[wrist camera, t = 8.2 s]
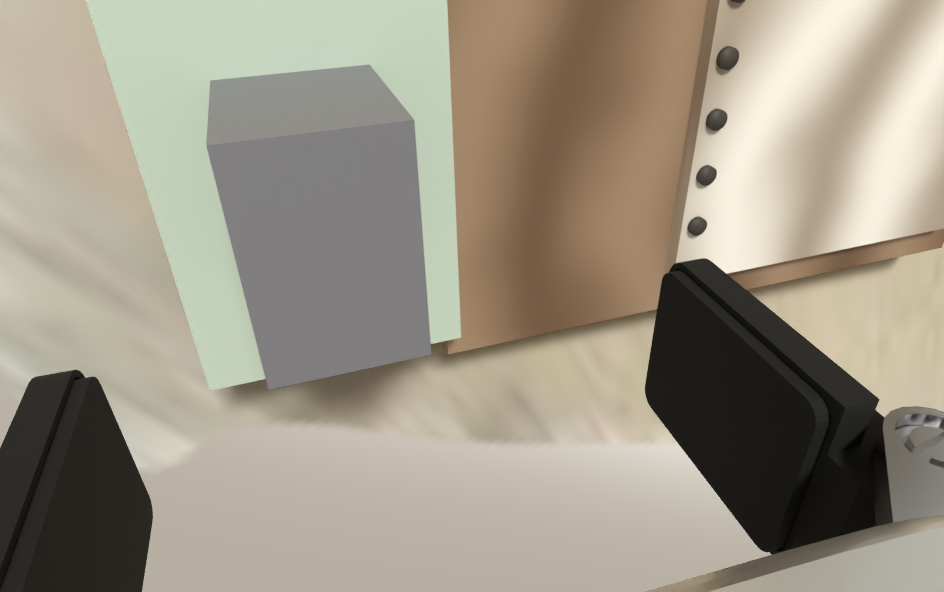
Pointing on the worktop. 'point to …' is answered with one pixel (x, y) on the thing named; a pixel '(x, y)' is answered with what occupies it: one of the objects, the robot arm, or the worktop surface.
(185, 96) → the stub
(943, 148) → the ticket board
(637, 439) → the worktop surface
